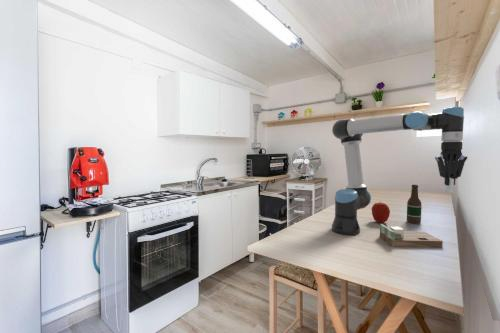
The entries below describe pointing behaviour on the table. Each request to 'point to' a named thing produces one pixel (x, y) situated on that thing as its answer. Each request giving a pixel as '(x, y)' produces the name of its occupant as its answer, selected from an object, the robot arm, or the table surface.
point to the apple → (380, 212)
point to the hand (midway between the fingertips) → (449, 192)
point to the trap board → (409, 238)
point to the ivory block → (398, 230)
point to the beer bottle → (414, 207)
